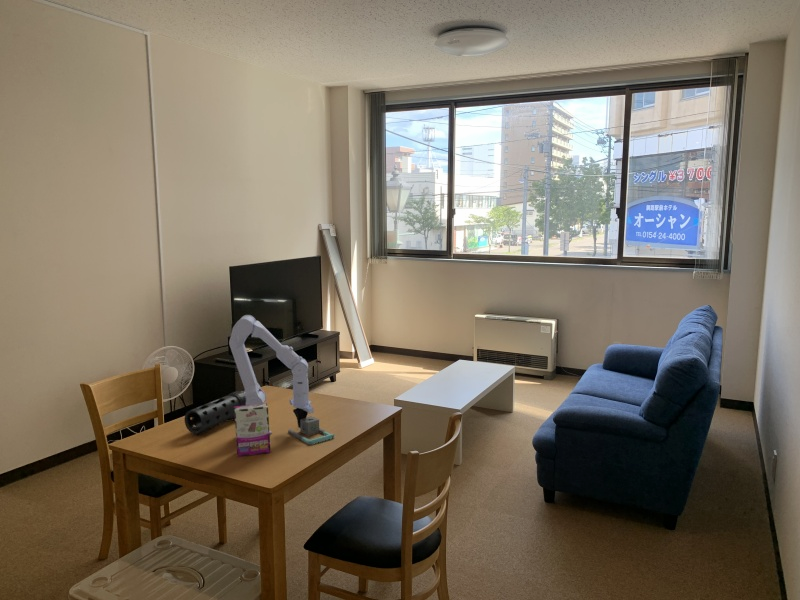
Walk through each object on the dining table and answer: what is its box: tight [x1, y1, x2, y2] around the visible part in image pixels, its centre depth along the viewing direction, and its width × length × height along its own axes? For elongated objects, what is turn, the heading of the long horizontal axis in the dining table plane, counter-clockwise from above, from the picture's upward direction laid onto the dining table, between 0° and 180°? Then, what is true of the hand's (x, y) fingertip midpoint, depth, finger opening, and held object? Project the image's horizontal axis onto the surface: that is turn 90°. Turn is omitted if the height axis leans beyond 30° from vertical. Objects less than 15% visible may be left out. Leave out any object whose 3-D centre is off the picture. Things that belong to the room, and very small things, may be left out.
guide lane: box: [287, 427, 335, 446], centre depth 219 cm, size 10×16×2 cm, turn 38°
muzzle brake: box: [184, 390, 246, 436], centre depth 232 cm, size 10×28×10 cm, turn 154°
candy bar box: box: [234, 402, 271, 458], centre depth 203 cm, size 11×5×16 cm, turn 106°
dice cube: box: [299, 415, 320, 437], centre depth 222 cm, size 5×5×5 cm
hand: (301, 427), depth 223 cm, fingers closed, pressing on dice cube
